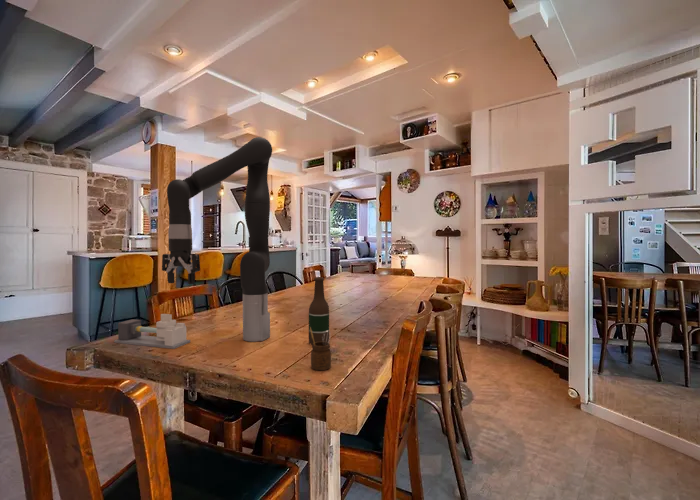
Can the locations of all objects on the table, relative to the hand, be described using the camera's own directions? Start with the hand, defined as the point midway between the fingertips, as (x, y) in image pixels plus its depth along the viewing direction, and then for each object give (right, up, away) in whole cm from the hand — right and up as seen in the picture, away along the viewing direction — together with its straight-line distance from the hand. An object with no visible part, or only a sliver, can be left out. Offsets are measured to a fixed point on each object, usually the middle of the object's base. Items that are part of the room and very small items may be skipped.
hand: (181, 283), depth 122 cm
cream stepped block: (-6, -20, +2) cm, 21 cm away
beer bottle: (+48, -22, +5) cm, 53 cm away
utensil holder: (+51, -23, -20) cm, 59 cm away
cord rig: (-12, -22, +4) cm, 25 cm away
